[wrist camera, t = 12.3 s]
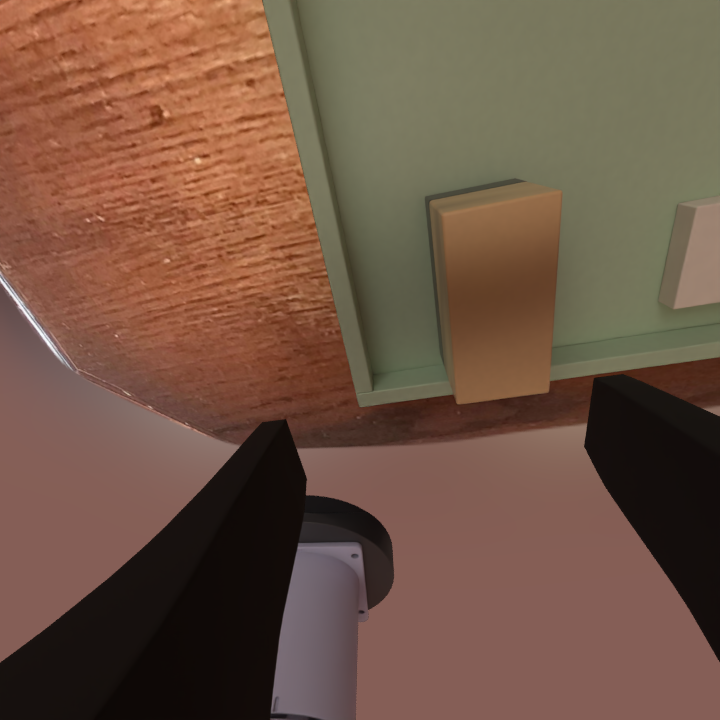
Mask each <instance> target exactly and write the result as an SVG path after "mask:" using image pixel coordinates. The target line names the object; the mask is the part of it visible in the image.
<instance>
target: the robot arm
mask: <svg viewBox="0 0 720 720" xmlns="http://www.w3.org/2000/svg"><path fill="white" fill-rule="evenodd" d="M584 447H585V449H586V450H587V453H588V455H589V457H590V459H591V461H592V463H593V465H594V467H595V468H596V471H597V473H598V474H599V476H600V478H601V480H602V482H603V483H604V486H605V487H606V489H607V490H608V492H609V493H610V495H611V496H612V498H613V499H614V501H615V502H616V503H617V505H618V506H619V508H620V509H621V511H622V512H623V514H624V515H625V517H626V518H627V519H628V521H629V522H630V524H631V525H632V527H633V528H634V529H635V531H636V532H637V534H638V535H639V536H640V538H641V539H642V541H643V542H644V543H645V545H646V547H647V548H648V549H649V551H650V552H651V554H652V555H653V557H654V558H655V559H656V561H657V562H658V564H659V565H660V567H661V568H662V569H663V571H664V572H665V574H666V575H667V576H668V578H669V579H670V581H671V582H672V583H673V585H674V586H675V588H676V590H677V591H678V593H679V594H680V596H681V597H682V599H683V600H684V602H685V604H686V605H687V607H688V608H689V609H690V612H691V613H692V615H693V616H694V618H695V620H696V622H697V624H698V625H699V627H700V629H701V630H702V632H703V634H704V636H705V637H706V639H707V641H708V643H709V644H710V646H711V648H712V650H713V651H714V653H715V655H716V657H717V658H718V660H719V662H720V416H717V415H715V414H713V413H711V412H708V411H706V410H704V409H702V408H700V407H697V406H695V405H693V404H691V403H688V402H686V401H684V400H682V399H680V398H677V397H675V396H673V395H671V394H669V393H666V392H664V391H662V390H660V389H657V388H655V387H653V386H651V385H648V384H646V383H644V382H641V381H639V380H637V379H634V378H632V377H629V376H626V375H624V374H621V375H613V376H606V377H598V378H594V382H593V389H592V396H591V403H590V410H589V417H588V424H587V431H586V438H585V445H584ZM306 481H307V478H306V475H305V472H304V469H303V466H302V463H301V461H300V458H299V455H298V452H297V449H296V446H295V444H294V441H293V438H292V435H291V432H290V429H289V427H288V424H287V421H286V419H284V420H276V421H269V422H262V423H261V424H260V425H259V426H258V427H257V428H256V429H255V431H254V432H253V433H252V434H251V435H250V436H249V437H248V438H247V440H246V441H245V442H244V443H243V444H242V445H241V446H240V447H239V449H238V450H237V451H236V452H235V453H234V454H233V455H232V457H231V458H230V459H229V460H228V461H227V462H226V463H225V464H224V466H223V467H222V468H221V469H220V470H219V471H218V472H217V473H216V475H214V477H213V478H212V479H211V480H210V481H209V482H208V483H207V484H206V486H205V487H204V488H203V489H202V490H201V491H200V492H199V493H198V494H197V495H196V496H195V497H194V498H193V499H192V500H191V501H190V502H189V503H188V504H187V505H186V506H185V507H184V508H183V509H182V510H181V511H180V512H179V513H178V514H177V516H175V517H174V518H173V519H172V520H171V522H170V523H169V524H168V525H167V526H166V527H165V528H163V530H162V531H160V532H159V533H158V534H157V535H156V536H155V537H154V538H153V539H152V540H151V541H150V542H149V543H148V544H147V545H145V546H144V547H143V548H142V549H141V550H140V551H139V552H138V553H137V554H136V555H134V556H133V557H132V558H131V559H130V560H129V561H128V562H127V563H125V564H124V565H123V566H122V567H121V568H120V569H119V570H118V571H116V572H115V573H114V574H113V575H112V576H111V577H109V578H108V579H107V580H106V581H105V582H103V583H102V584H101V585H100V586H98V587H97V588H96V589H95V590H93V591H92V592H91V593H90V594H88V595H87V596H86V597H85V598H83V599H82V600H81V601H80V602H79V603H77V604H76V605H75V606H74V607H72V608H71V609H70V610H69V611H68V612H66V613H65V614H64V615H62V616H61V617H60V618H59V619H57V620H56V621H55V622H54V623H53V624H51V625H50V626H49V627H47V628H46V629H45V630H43V631H42V632H41V633H40V634H38V635H37V636H35V637H34V638H33V639H32V640H30V641H29V642H27V643H26V644H25V645H23V646H22V647H21V648H20V649H18V650H17V651H16V652H14V653H13V654H11V655H10V656H9V657H7V658H6V659H5V660H3V661H2V662H1V663H0V720H356V686H357V645H358V622H365V621H367V620H368V604H367V593H366V583H365V572H364V562H363V552H362V545H361V544H360V543H358V542H317V543H299V538H300V533H301V528H302V523H303V518H304V507H305V496H306Z"/></svg>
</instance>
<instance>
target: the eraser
mask: <svg viewBox="0 0 720 720" xmlns="http://www.w3.org/2000/svg"><path fill="white" fill-rule="evenodd" d="M562 195H563V192H562V190H558V189H554V188H550V187H546V186H542V185H538V184H534V183H530V182H527V181H524V180H520V179H516V178H514V179H509V180H504V181H499V182H494V183H489V184H484V185H479V186H474V187H469V188H464V189H459V190H454V191H449V192H444V193H439V194H434V195H429V196H426V197H425V207H426V217H427V227H428V237H429V247H430V257H431V267H432V277H433V288H434V298H435V308H436V318H437V328H438V338H439V348H440V355H441V358H442V362H443V365H444V367H445V370H446V373H447V376H448V379H449V382H450V385H451V388H452V391H453V394H454V398H455V401H456V403H457V404H458V405H460V404H468V403H475V402H482V401H490V400H497V399H504V398H512V397H519V396H526V395H534V394H541V393H548V392H549V386H550V372H551V357H552V342H553V327H554V313H555V298H556V283H557V269H558V254H559V239H560V225H561V210H562Z"/></svg>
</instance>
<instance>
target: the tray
mask: <svg viewBox="0 0 720 720" xmlns="http://www.w3.org/2000/svg"><path fill="white" fill-rule="evenodd" d="M262 2H263V6H264V10H265V14H266V19H267V23H268V27H269V31H270V35H271V40H272V44H273V48H274V52H275V56H276V60H277V65H278V69H279V73H280V77H281V81H282V86H283V90H284V94H285V98H286V102H287V107H288V111H289V115H290V119H291V123H292V128H293V132H294V136H295V140H296V144H297V148H298V153H299V157H300V161H301V165H302V169H303V174H304V178H305V182H306V186H307V190H308V195H309V199H310V203H311V207H312V211H313V215H314V220H315V224H316V228H317V232H318V236H319V241H320V245H321V249H322V253H323V257H324V262H325V266H326V270H327V274H328V278H329V282H330V287H331V291H332V295H333V299H334V303H335V308H336V312H337V316H338V320H339V324H340V329H341V333H342V337H343V341H344V345H345V350H346V354H347V358H348V362H349V366H350V370H351V375H352V379H353V383H354V387H355V391H356V396H357V400H358V404H359V407H367V406H374V405H381V404H388V403H395V402H402V401H410V400H417V399H424V398H431V397H438V396H445V395H453V391H452V388H451V385H450V382H449V379H448V376H447V373H446V370H445V367H444V365H443V362H442V358H441V355H440V348H439V338H438V328H437V318H436V308H435V298H434V288H433V277H432V267H431V257H430V247H429V237H428V227H427V217H426V207H425V197H426V196H429V195H434V194H439V193H444V192H449V191H454V190H459V189H464V188H469V187H474V186H479V185H484V184H489V183H494V182H499V181H504V180H509V179H514V178H516V179H520V180H524V181H527V182H530V183H534V184H538V185H542V186H546V187H550V188H554V189H558V190H562V192H563V195H562V210H561V225H560V239H559V254H558V269H557V283H556V298H555V313H554V327H553V342H552V357H551V372H550V381H553V380H560V379H567V378H574V377H581V376H589V375H596V374H603V373H610V372H617V371H624V370H632V369H639V368H646V367H653V366H660V365H667V364H675V363H682V362H689V361H696V360H703V359H710V358H718V357H720V302H718V303H712V304H706V305H699V306H693V307H686V308H680V309H672V308H670V307H668V306H666V305H664V304H663V303H661V302H659V301H658V298H659V293H660V289H661V284H662V279H663V274H664V269H665V265H666V260H667V255H668V250H669V245H670V241H671V236H672V231H673V226H674V221H675V217H676V212H677V207H678V204H679V203H682V202H687V201H693V200H698V199H703V198H709V197H714V196H720V0H262Z"/></svg>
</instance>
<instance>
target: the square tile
mask: <svg viewBox="0 0 720 720" xmlns="http://www.w3.org/2000/svg"><path fill="white" fill-rule="evenodd" d="M658 301H659V302H661V303H663V304H664V305H666V306H668V307H670V308H672V309H680V308H686V307H693V306H699V305H706V304H712V303H718V302H720V196H714V197H709V198H703V199H698V200H693V201H687V202H682V203H679V204H678V207H677V212H676V217H675V221H674V226H673V231H672V236H671V241H670V245H669V250H668V255H667V260H666V265H665V269H664V274H663V279H662V284H661V289H660V293H659V298H658Z"/></svg>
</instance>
